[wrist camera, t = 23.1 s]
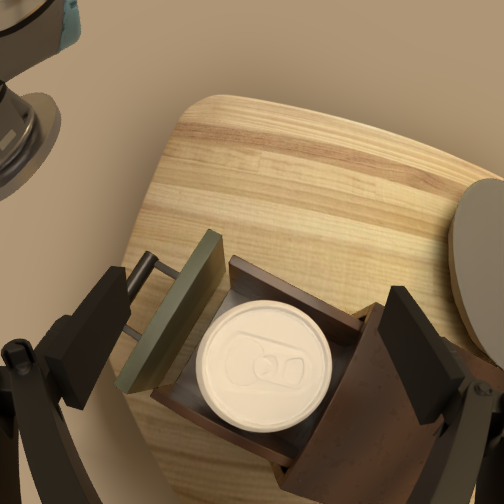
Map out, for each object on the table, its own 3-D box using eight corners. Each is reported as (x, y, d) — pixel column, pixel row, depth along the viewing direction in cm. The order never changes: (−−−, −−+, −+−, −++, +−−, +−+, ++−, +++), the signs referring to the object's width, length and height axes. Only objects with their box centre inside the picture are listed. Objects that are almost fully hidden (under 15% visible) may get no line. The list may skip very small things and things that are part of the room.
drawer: (109, 355, 28) (66, 347, 20) (177, 244, 33) (159, 202, 24) (289, 457, 26) (309, 488, 17) (352, 337, 30) (392, 323, 22)
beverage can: (220, 316, 29) (209, 282, 18) (305, 332, 29) (347, 307, 18) (203, 400, 26) (179, 421, 15) (290, 415, 26) (325, 444, 15)
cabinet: (265, 451, 27) (279, 488, 16) (333, 323, 31) (375, 301, 21) (396, 495, 24) (447, 527, 14) (450, 381, 29) (513, 376, 19)
